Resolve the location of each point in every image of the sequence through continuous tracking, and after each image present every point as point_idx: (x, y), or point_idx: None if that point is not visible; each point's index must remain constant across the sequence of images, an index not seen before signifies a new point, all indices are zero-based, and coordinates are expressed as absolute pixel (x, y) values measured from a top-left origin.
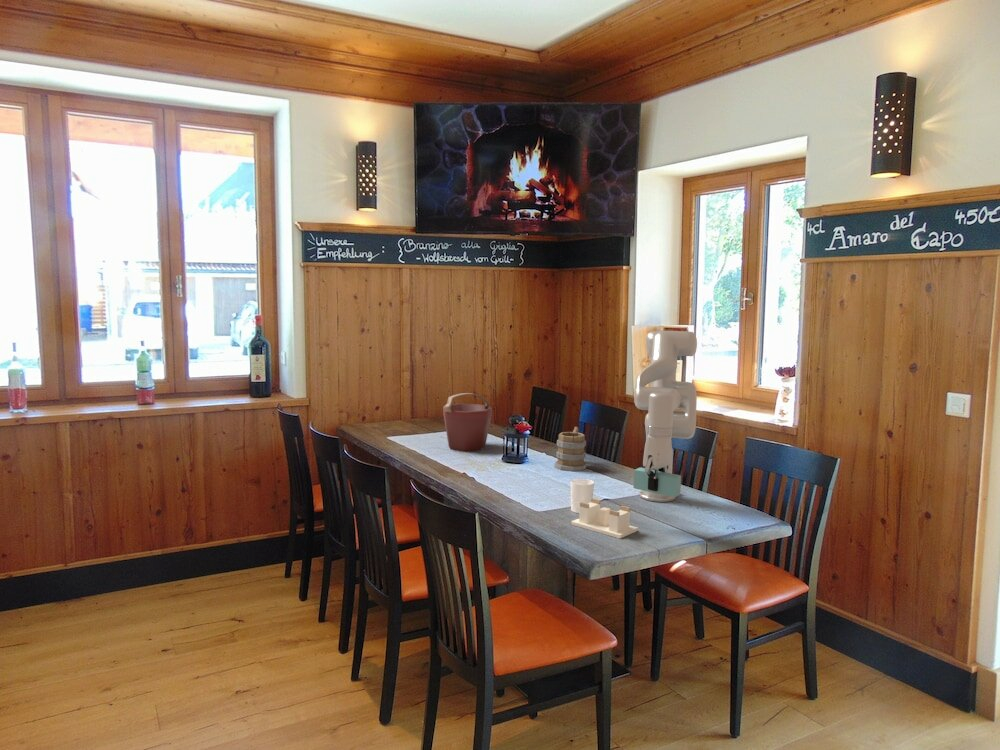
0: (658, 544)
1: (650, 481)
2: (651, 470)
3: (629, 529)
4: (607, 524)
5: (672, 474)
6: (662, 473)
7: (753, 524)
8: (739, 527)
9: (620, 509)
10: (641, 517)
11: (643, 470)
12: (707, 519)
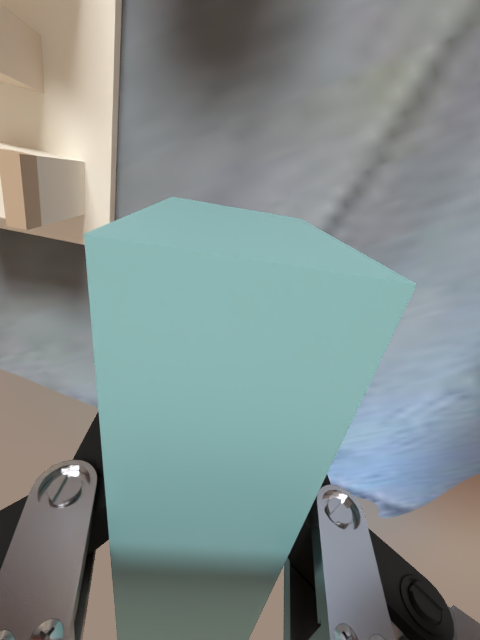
0: (33, 357)
1: (83, 448)
2: (70, 597)
3: (55, 225)
4: (11, 84)
5: (226, 633)
6: (201, 590)
7: (378, 483)
8: (339, 469)
9: (13, 150)
10: (305, 199)
11: (186, 412)
12: (380, 400)
